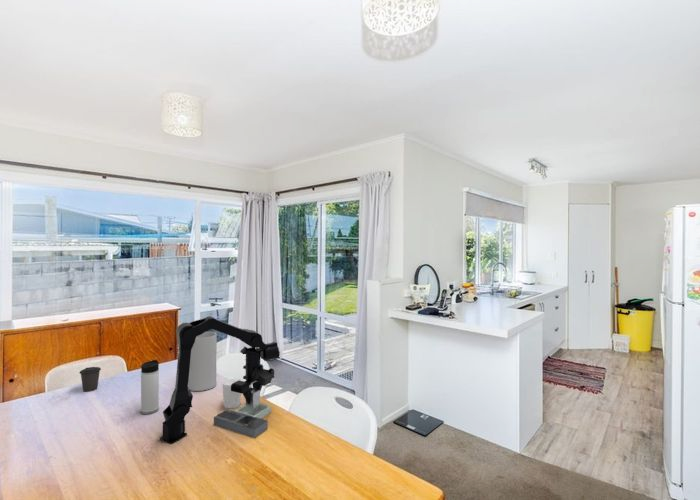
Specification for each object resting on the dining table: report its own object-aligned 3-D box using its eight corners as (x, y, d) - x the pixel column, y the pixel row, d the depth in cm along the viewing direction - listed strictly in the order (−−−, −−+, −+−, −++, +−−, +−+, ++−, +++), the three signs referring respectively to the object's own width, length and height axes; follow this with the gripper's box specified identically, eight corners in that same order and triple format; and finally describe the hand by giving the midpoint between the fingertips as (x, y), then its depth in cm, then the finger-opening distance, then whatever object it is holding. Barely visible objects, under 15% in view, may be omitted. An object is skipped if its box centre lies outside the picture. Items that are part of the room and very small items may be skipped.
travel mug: (162, 407, 144) (162, 360, 144) (152, 415, 138) (152, 365, 137) (148, 406, 145) (148, 359, 144) (137, 414, 138) (137, 364, 138)
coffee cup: (83, 387, 164) (83, 366, 164) (103, 385, 167) (103, 364, 167) (76, 394, 156) (76, 372, 156) (96, 391, 159) (96, 370, 159)
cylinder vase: (192, 382, 171) (192, 332, 171) (218, 380, 173) (218, 331, 173) (184, 392, 159) (184, 338, 158) (213, 390, 161) (213, 337, 161)
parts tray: (254, 423, 131) (254, 416, 131) (234, 417, 136) (234, 411, 136) (270, 412, 140) (270, 406, 140) (251, 407, 145) (251, 401, 145)
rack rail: (254, 438, 122) (254, 429, 122) (213, 424, 130) (213, 416, 130) (267, 428, 128) (267, 420, 128) (227, 416, 137) (227, 409, 137)
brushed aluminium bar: (253, 413, 135) (253, 393, 135) (245, 411, 137) (245, 391, 137) (260, 409, 139) (260, 389, 139) (252, 407, 141) (252, 387, 141)
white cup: (238, 409, 143) (238, 385, 143) (219, 409, 143) (219, 385, 143) (244, 400, 151) (244, 378, 151) (226, 400, 151) (226, 378, 151)
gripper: (252, 373, 126) (252, 416, 126) (283, 359, 143) (283, 396, 143) (229, 369, 131) (229, 409, 131) (262, 355, 148) (262, 391, 148)
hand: (252, 401), depth 138 cm, fingers closed on brushed aluminium bar, 4 cm apart
